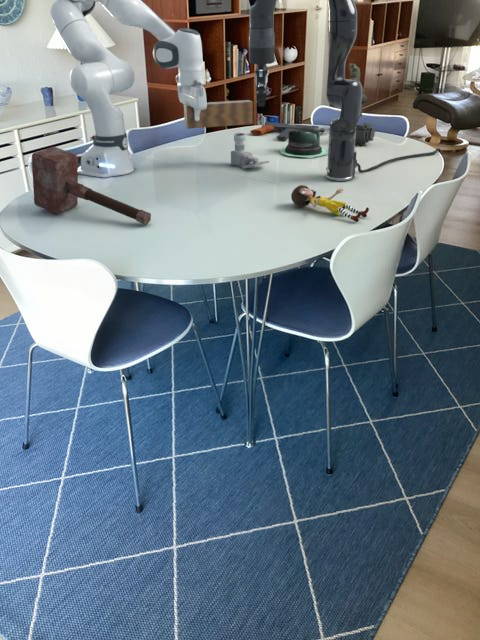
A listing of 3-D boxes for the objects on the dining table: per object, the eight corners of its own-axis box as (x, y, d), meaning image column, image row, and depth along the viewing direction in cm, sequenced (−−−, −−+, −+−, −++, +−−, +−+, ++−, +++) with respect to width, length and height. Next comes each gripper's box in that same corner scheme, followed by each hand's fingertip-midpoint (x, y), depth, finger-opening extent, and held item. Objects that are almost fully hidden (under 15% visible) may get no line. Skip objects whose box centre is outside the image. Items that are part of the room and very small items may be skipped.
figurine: (354, 211, 157) (283, 185, 169) (349, 235, 161) (280, 207, 174) (376, 199, 166) (307, 175, 178) (371, 222, 170) (303, 197, 182)
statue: (367, 132, 266) (374, 63, 251) (349, 133, 264) (355, 64, 249) (357, 127, 275) (362, 61, 260) (339, 129, 273) (344, 62, 258)
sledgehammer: (159, 186, 162) (53, 145, 173) (139, 196, 154) (29, 152, 166) (154, 239, 172) (54, 196, 183) (135, 250, 164) (32, 205, 176)
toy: (345, 120, 249) (377, 123, 242) (343, 139, 253) (375, 143, 246) (337, 123, 243) (369, 127, 236) (336, 143, 247) (367, 147, 240)
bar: (187, 128, 207) (186, 105, 203) (184, 126, 211) (183, 103, 207) (252, 124, 213) (252, 101, 209) (248, 121, 217) (248, 99, 213)
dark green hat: (332, 145, 241) (326, 158, 224) (294, 164, 249) (286, 177, 233) (317, 113, 235) (310, 124, 219) (279, 133, 244) (269, 145, 228)
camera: (240, 131, 219) (270, 136, 210) (241, 161, 225) (269, 168, 216) (225, 135, 213) (254, 141, 204) (226, 165, 219) (254, 172, 210)
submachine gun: (244, 131, 261) (267, 121, 279) (244, 137, 262) (267, 127, 281) (306, 137, 247) (327, 126, 266) (306, 143, 248) (326, 132, 267)
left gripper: (210, 81, 194) (211, 122, 201) (189, 75, 210) (191, 113, 217) (193, 83, 192) (195, 124, 199) (173, 76, 208) (176, 115, 215)
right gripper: (274, 47, 156) (273, 108, 164) (274, 43, 168) (274, 100, 177) (247, 47, 157) (248, 108, 165) (250, 43, 169) (250, 100, 177)
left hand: (193, 118), depth 208 cm, fingers closed on bar, 5 cm apart
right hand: (261, 103), depth 171 cm, fingers open, 8 cm apart
